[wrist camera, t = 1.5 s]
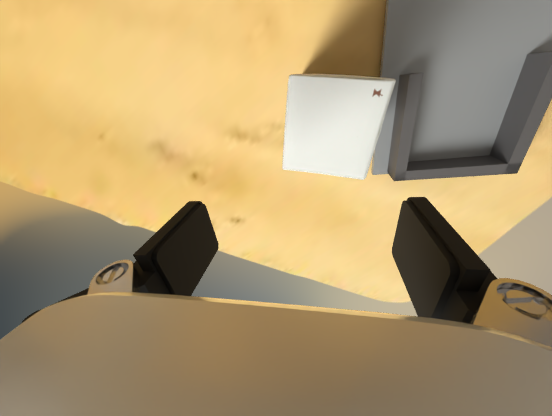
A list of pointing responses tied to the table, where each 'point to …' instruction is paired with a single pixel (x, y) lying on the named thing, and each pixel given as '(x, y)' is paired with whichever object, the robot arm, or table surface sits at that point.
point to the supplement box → (334, 122)
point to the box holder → (463, 86)
